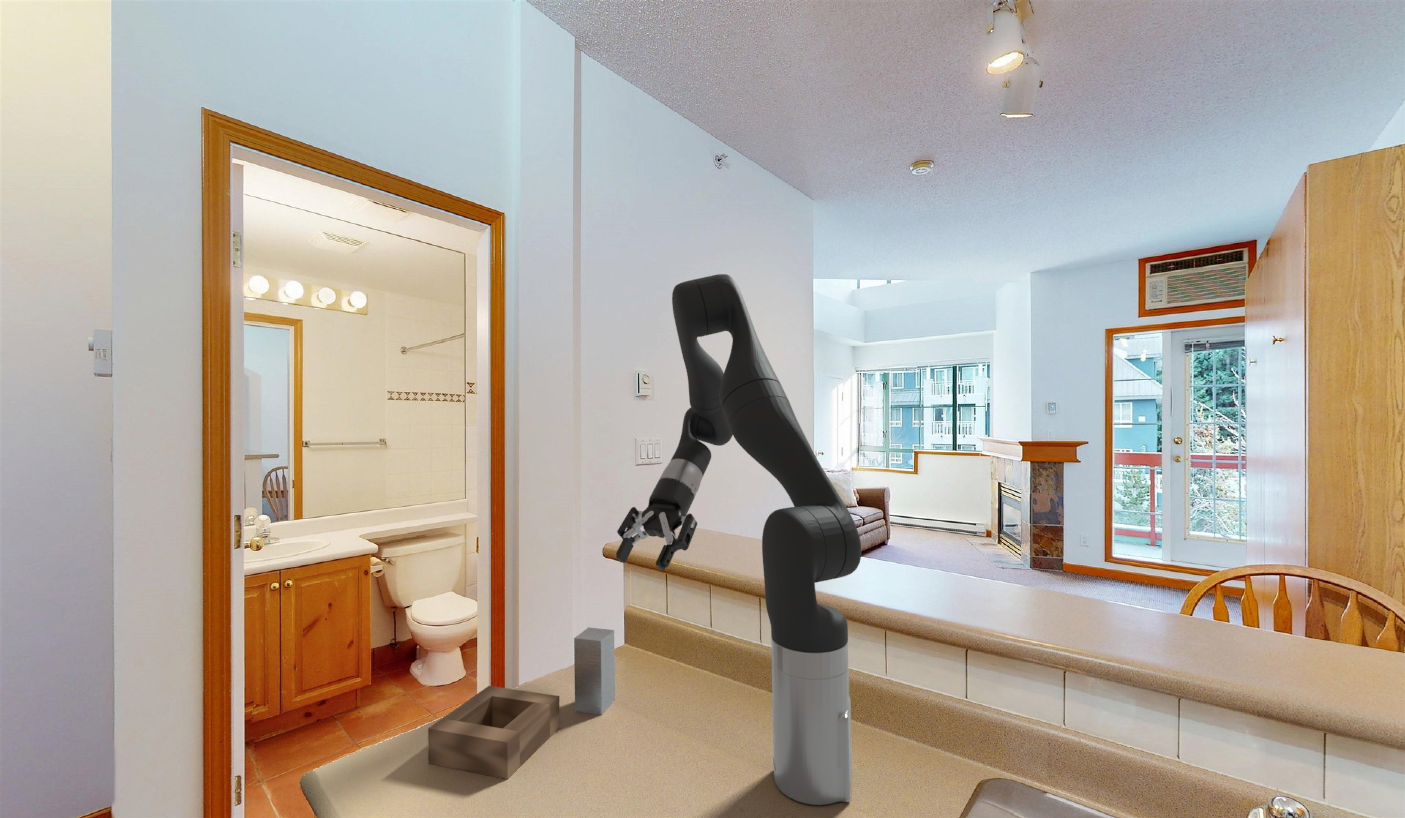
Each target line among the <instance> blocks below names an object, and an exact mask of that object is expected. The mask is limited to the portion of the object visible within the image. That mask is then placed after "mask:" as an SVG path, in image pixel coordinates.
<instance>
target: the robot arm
mask: <svg viewBox="0 0 1405 818" xmlns="http://www.w3.org/2000/svg"><path fill="white" fill-rule="evenodd" d="M671 296H672V297H671V304H672V312H673V319H674V324H675V329H676V333H677V337H678V341H679V342H678V343H679V346H680V351H681V354H682V359H683V363H684V367H685V370H686V375H687V382H688V386H687V387H688V394H689V395H688V396H689V398H688V399H689V400H688V401H689V405H690V407H689V408H688V409H687V410H686V412H685V413H684V416H683V421H682V429H681V432H680V433H681V435H680V439H679V442H678V445H677V448H676V450H675V452H674V454H673V455H672V457H671V459H670V461H669V463H668V464H667V466H666V467H665V468H664V470H663V471H662V473H661V475H660V477H659V479H658V481H657V483H656V484H655V487H654V488H653V490H652V492H651V494H650V496H649V499H648V505H647V507H646V508H645V509H644V510H643V511H642V510H638V509H637V508H636V507H635V506H633V507H631V508H630V509H629V511H628V513H627V514H626V516H625V518H624V519H623V521H622V523H621V524H620V526H619V527H618V529H617V531H616V533H617V534H618V536H620V538H621V539H622V541H621V543H620V545H619V547H618V548H617V550H616V553H615V555H616V559H617V560H618V562H619V563H623V564H625V563H626V562H627V560H628V559H629V556H630V554H631V552H632V550H633V549H634V545H635V544H636V543H637V542H639V541H641V540H645V539H646V538H648V537H658V538H662V539H665V542H666V544H663V546H662V548H661V551H660V552H659V555H658V557H657V558H656V561H655V566H656V567H657V568H658V570H659V571H660V570H661V571H665V570H666V569H667V568H668V567H669V565H670V564H671V562H672V559H673V557H674V555H675V553H677V552H678V551H680V550H682V551H684V552H685V551H687V550H688V549H689V547H690V544H691V542H692V539H693V537H694V534H695V532H696V529H697V526H698V522H697V520H696V518H695V517H694V515H693V514H692V513H689V511H690V508H691V506H692V504H693V502H694V499H695V497H696V496H697V493H698V491H699V488H700V486H701V482H702V480H703V477H704V475H705V473H706V471H707V469H708V467H709V464H710V462H711V460H712V451H711V450H710V448H709V447H708V446H707V445H706V444H705V443H707V444H709V445H710V444H711V445H712V446H721V447H722V446H724V445H726V444H727V443H729V442H730V441H731V440H732V437H733V438H734V440H735V441H736V442H737V443H738V446H740V447H741V448H742V449H743V450H744V451H745V452H746V454H748V455H749V456H750V457H751V458H752V459H753V460H755V461H756V462H757V463H758V464H759V465H760V466H762V467H763V468H764V469H765V470H767V472H769V473H770V474H771V475H772V476H773V477H774V478H775V479H776V480H777V481H778V483H779V484H780V485H781V487H783V489H784V491H785V492H786V493H787V495H788V497H789V499H790V500H791V503H792V504H793V506H791V507H784V508H778V509H776V510H774V511H772V512H771V513H769V516H767V518H766V520H765V522H764V526H763V530H762V536H761V540H762V541H761V549H762V550H761V555H762V565H763V566H762V568H763V582H764V594H765V595H764V597H765V598H764V599H765V606H766V611H767V615H768V619H769V624H770V634H771V635H770V637H771V638H770V639H771V641H770V644H771V687H772V688H771V693H772V694H771V695H772V699H771V700H772V743H773V747H772V748H773V750H772V751H773V757H772V762H773V765H772V766H773V779H774V783H775V784H776V786H777V788H778V789H779V791H780V792H781V793H783V794H784V795H785V796H787V798H790V799H792V800H794V801H796V802H799V803H803V804H808V805H814V806H816V805H817V806H823V805H825V806H826V805H830V804H834V803H838V802H843V803H844V802H845V803H850V802H851V797H852V796H851V793H852V792H851V791H852V779H853V758H852V757H853V755H852V751H853V750H852V715H851V713H852V711H851V710H852V708H851V705H852V704H851V695H850V676H849V675H850V673H849V667H850V666H849V630H848V628H849V627H848V626H849V625H848V621H847V618H846V616H845V615H844V613H842V612H841V611H840V610H838V609H837V608H834V607H831V606H829V605H827V604H822V603H818V601H817V594H816V593H817V592H816V583H820V582H827V581H829V580H835V579H839V578H844V577H847V576H849V575H851V574H852V573H855V571H857V569H858V567H859V565H860V563H861V558H862V542H861V538H860V534H859V531H858V528H857V525H856V522H855V521H854V518H853V517H852V515H851V513H850V511H849V509H848V507H847V506H846V504H845V503H844V501H843V499H842V498H841V496H840V494H839V493H838V491H837V489H836V488H835V486H834V485H833V483H832V482H831V480H830V478H829V476H828V475H827V473H826V472H825V469H824V468H823V467H822V465H821V464H820V461H819V460H818V458H817V456H816V455H815V452H814V451H813V448H812V447H811V445H810V443H809V441H808V439H807V437H806V435H805V433H804V431H803V428H802V426H801V425H800V423H799V420H798V419H797V416H796V415H795V413H794V410H793V408H792V405H791V403H790V400H789V398H788V396H787V394H786V392H785V390H784V388H783V385H782V384H781V382H780V380H779V378H778V376H777V374H776V373H775V371H774V369H773V367H772V365H771V362H770V360H769V359H768V357H767V355H766V352H765V351H764V348H763V346H762V344H761V341H760V339H759V337H758V335H757V332H756V329H755V327H754V324H753V321H752V319H751V316H750V314H749V311H748V308H747V305H746V303H745V302H746V301H745V300H744V297H743V295H742V292H741V290H740V288H739V286H738V284H737V282H736V281H735V280H734V278H733V277H732V276H731V275H729V274H726V273H723V274H722V273H719V274H713V275H708V276H704V277H700V278H696V279H691V280H686V281H683V282H680V283H678V284H675V286H674V287H673V290H672V295H671ZM723 332H728V333H729V334H730V336H731V338H732V341H731V342H732V344H731V349H730V354H729V357H728V359H727V363H726V366H725V369H724V371H723V369H722V367H721V366H720V364H719V362H717V361H716V360H715V359H714V358H713V357H712V356H711V355H710V354H709V353H708V352H706V350H704V348H703V347H702V346H701V344H699V341H698V338H702V337H705V336H709V335H715V334H719V333H723ZM641 528H643V530H641ZM678 528H680V530H679V533H678V535H677V534H676V530H677V529H678Z"/></svg>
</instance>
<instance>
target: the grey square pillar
mask: <svg viewBox="0 0 1405 818" xmlns="http://www.w3.org/2000/svg"><path fill="white" fill-rule="evenodd" d="M573 643H574V646H573V649H574V650H573V651H574V653H573V654H574V655H573V656H574V659H573V661H574V712H579V713H581V712H582V713H585V714H593V715H600V716H602V715H603V714H604V713H605V712H606V711H607V710H608V709H609V708H610V707H611V705H613V703H614V702H615V701H616V678H615V677H616V676H615V675H616V674H615V673H616V671H615V669H616V668H615V666H616V665H615V630H614V629H606V628H597V627H586V629H584V630H583V631H581V632H580V633H579V634H578V635H576V636H575V637H574V638H573Z"/></svg>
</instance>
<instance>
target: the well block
mask: <svg viewBox="0 0 1405 818" xmlns="http://www.w3.org/2000/svg"><path fill="white" fill-rule="evenodd" d="M560 709H561V708H560V695H555V694H549V693H548V694H547V693H542V692H534V691H528V690H519V689H513V688H506V687H501V686H500V687H499V686H493V685H492V686H491V685H488V686H486V687H485V688H483V690H481V691H479V692H478V693H477V694H475V695H474V696H472V697H471V698H470V699H468V700H466V701H465V702H464V703H462V704H461V705H459V706H457V707H456V708H455V709H454V710H452V711H451V712H449V713H448V714H446V715H445V716H444V717H442V718H441V719H439V720H438V721H437V722H435V723H434V724H432V725H430V726H429V727H428V729H427V735H428V736H427V742H428V743H427V744H428V745H427V748H428V749H427V751H428V754H427V755H428V756H427V757H428V759H427V760H428V764H430V765H435V766H439V767H444V768H450V769H453V770H454V769H455V770H459V771H465V772H469V773H475V774H480V775H484V776H490V777H495V778H500V779H505V780H508V779H510V777H512V775H514V774H515V773H516V772H517V771H518V769H520V768H521V766H523V764H525V763H526V761H528V760H529V759H530V758H531V757H532V756H534V754H535V753H536V752H537V751H538V750H539V749H540V748H541V747H542V746H543V745H544V744H545V743H546V742H547V741H548V740H549V739H550V738H551V737H552V736H553V735H554V734H555V733H556V732H557V731H558V730H559V729H560V727H561V725H560V721H561V720H560V719H561V718H560Z"/></svg>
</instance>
